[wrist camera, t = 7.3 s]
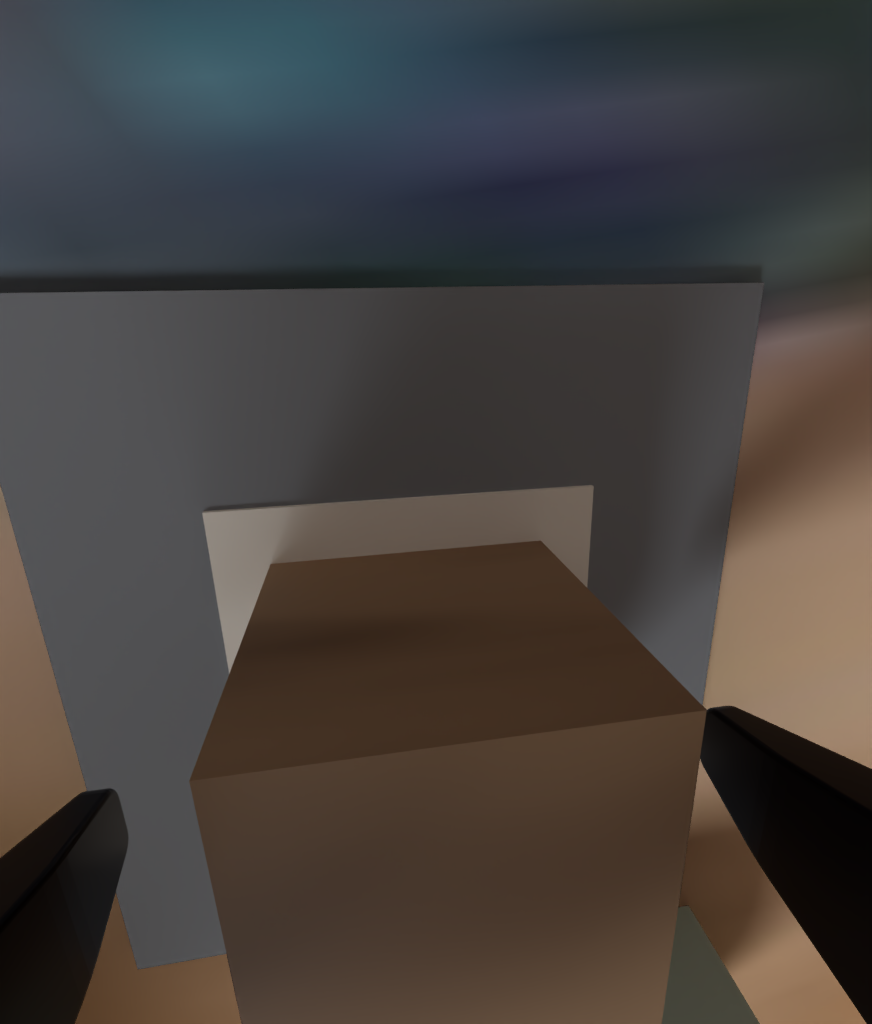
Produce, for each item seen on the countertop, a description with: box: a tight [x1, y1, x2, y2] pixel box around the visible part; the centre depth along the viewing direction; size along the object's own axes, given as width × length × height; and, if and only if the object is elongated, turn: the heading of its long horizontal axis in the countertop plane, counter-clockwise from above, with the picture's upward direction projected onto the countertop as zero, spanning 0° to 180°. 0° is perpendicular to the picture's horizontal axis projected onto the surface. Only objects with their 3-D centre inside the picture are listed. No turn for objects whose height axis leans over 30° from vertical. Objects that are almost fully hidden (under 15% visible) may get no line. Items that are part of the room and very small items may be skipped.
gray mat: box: [0, 283, 764, 969], centre depth 11 cm, size 14×13×1 cm
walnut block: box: [189, 541, 707, 1024], centre depth 8 cm, size 5×5×5 cm
